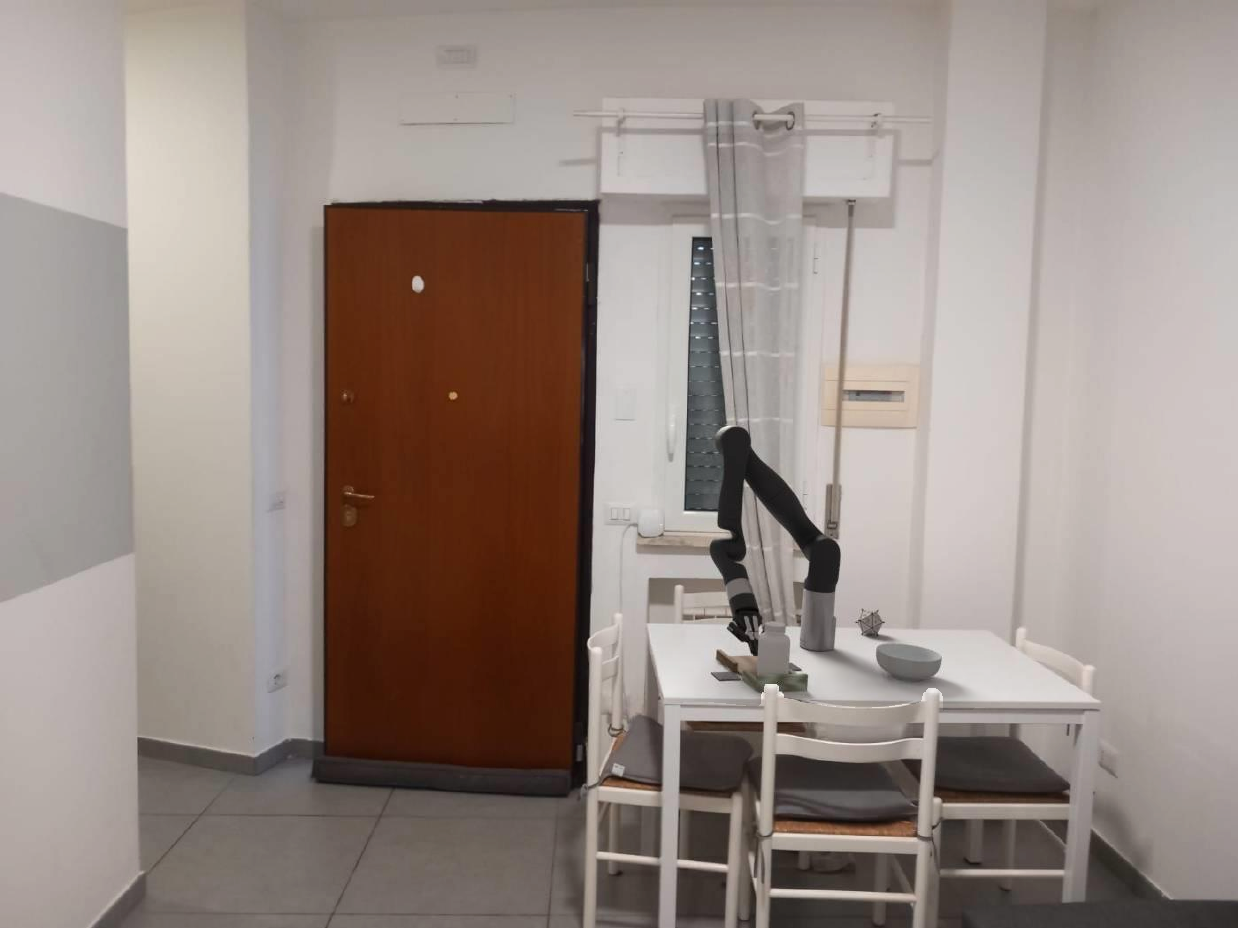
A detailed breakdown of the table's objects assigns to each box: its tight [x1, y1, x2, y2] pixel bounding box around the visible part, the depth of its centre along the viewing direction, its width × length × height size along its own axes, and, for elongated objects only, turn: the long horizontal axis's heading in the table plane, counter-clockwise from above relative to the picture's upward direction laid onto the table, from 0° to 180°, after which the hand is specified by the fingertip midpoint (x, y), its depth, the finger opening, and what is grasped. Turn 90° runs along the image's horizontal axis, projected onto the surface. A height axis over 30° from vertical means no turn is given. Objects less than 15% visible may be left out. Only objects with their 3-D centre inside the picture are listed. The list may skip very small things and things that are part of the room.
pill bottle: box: [757, 621, 791, 675], centre depth 222 cm, size 8×8×15 cm
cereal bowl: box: [875, 642, 942, 682], centre depth 235 cm, size 17×17×7 cm
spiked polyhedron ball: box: [854, 608, 886, 637], centre depth 278 cm, size 9×8×10 cm
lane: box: [710, 649, 809, 694], centre depth 231 cm, size 26×28×4 cm
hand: (757, 654), depth 233 cm, fingers closed
